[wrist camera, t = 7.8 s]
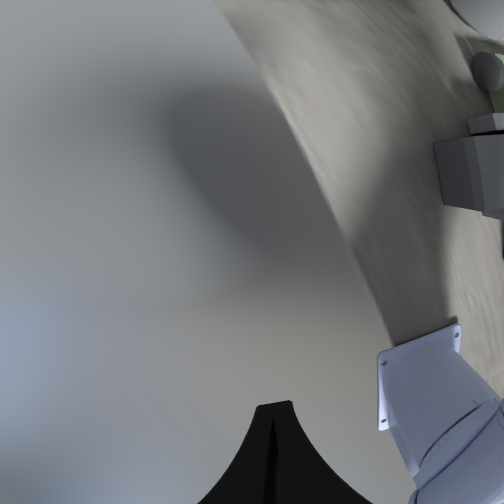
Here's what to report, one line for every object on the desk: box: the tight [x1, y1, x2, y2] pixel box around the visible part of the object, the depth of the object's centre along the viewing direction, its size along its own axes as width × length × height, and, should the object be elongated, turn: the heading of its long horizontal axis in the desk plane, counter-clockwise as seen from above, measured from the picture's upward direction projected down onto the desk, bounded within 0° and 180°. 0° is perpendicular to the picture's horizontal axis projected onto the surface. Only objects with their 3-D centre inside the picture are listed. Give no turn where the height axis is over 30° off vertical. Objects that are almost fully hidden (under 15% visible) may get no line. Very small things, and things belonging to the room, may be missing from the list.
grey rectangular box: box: [433, 134, 504, 212], centre depth 14 cm, size 4×8×5 cm, turn 104°
